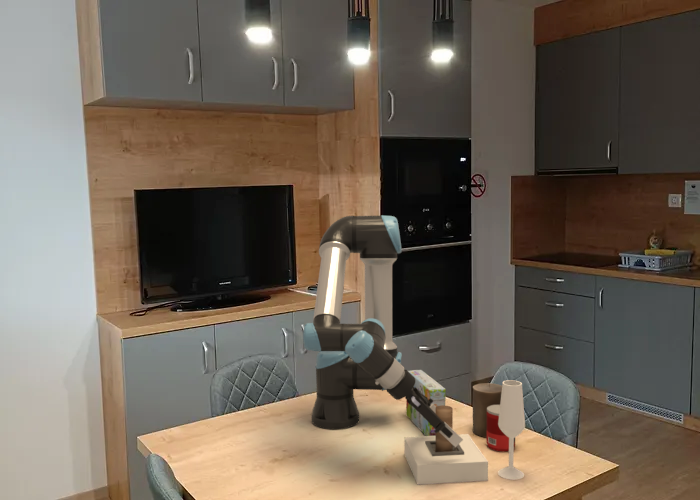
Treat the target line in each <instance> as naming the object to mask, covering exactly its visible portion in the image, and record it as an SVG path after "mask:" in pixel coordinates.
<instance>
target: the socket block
mask: <svg viewBox="0 0 700 500" xmlns="http://www.w3.org/2000/svg"><path fill="white" fill-rule="evenodd" d="M457 434H458V433H457ZM458 435H459V436H460V437H461V438H462V439H463V440H462V441H461V442H460V443H459V444H458V445H457V446H456V447H455V446H454V445H453V444H452V451H449V452H436V436H426V435H422V436H404V441H403V443H404V445H403V446H404V458H405V459H406V462H407V464H408V467H409V468H410V470H411V474H412V475H413V478H414V480H415V482H416V484H417V485H432V484H433V485H434V484H436V485H437V484H451V483H453V484H455V483H468V482H486V481H487V482H488V481H489V460H488V459H487V457H486V456H485V455H484V454H483V452H482V451H481V450H480V448H479V447H478V446H477V444H476V443H475V441H474V440H473V439H472V437H471V435H470V434H469V433H461V434H458Z"/></svg>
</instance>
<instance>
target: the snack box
mask: <svg viewBox="0 0 700 500" xmlns="http://www.w3.org/2000/svg"><path fill="white" fill-rule="evenodd" d="M407 371H408V372H409V373H410V374H411V375H412V376H414V377H415V385H414V387H416V388H417V389H418V390H419V391H420V392H421V393H422V394H423V395H424V396H425V397H427V398H428V400H429V399H430V398H431V399H432V400H433V402H432V403H431V404H433V405H435V406H436V407H437V406H441V405H445V406H446V400H447V399H446V398H447V397H446V395H447V394H446V392H447V391H446V388H445V387H443V386H442V385H441V384H440V383H439V382H437V381H436V380H435V379H434V378H432V377H431V376H429V375H428V374H427V373H426V372H425V371H423V369H413V370H407ZM405 400H406V399H405ZM405 403H406V407H405V408H406V410H405V413H406V414H405V415H406V417H407V418H409V420H410V421H411V422H412V423H413V424H414V425H415V426H416V427H417V428H418V429H419V430H420V432H422V433H423V435H424V436H436V433H435V432H434V431H435V430H436V429H435V428H434V427H433V426H432V425H431V424H430V423H429V422H428V421H427V420H426V419H425V418H424V417H423V416H422V415H421V414H420V413H419V412H418V411H417V410H416V409H415V408H414V407H413V406H411V405H410V404H409V403H408V402H407V400H406V401H405ZM431 404H430V405H431Z"/></svg>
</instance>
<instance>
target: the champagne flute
mask: <svg viewBox="0 0 700 500" xmlns="http://www.w3.org/2000/svg"><path fill="white" fill-rule="evenodd" d="M523 393H524V392H523V383H522V382H521V381H519V380H514V379H513V380H511V379H510V380H509V379H508V380H503V381H502V393H501V402H500V411H499V420H498V426H499V428H500V429H501V431H502V432H503V433H504V434H505V435H506V436H507V437H509V451H508V466H505V467H503V468H500V469H499V470H498V471H497V475H498V476H499V477H501V478H503V479H505V480H511V481H512V480H514V481H516V480H521V479H523V478H524V477H525V473H524V472H523V471H522V470H520V469H518V468H516V467H514V449H515V447H514V438H515V439H516V438H517V437H518V436H519V435H521V434H522V433H523V431H524V430H525V428H526V418H525V407H524V406H525V405H524V395H523Z"/></svg>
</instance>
